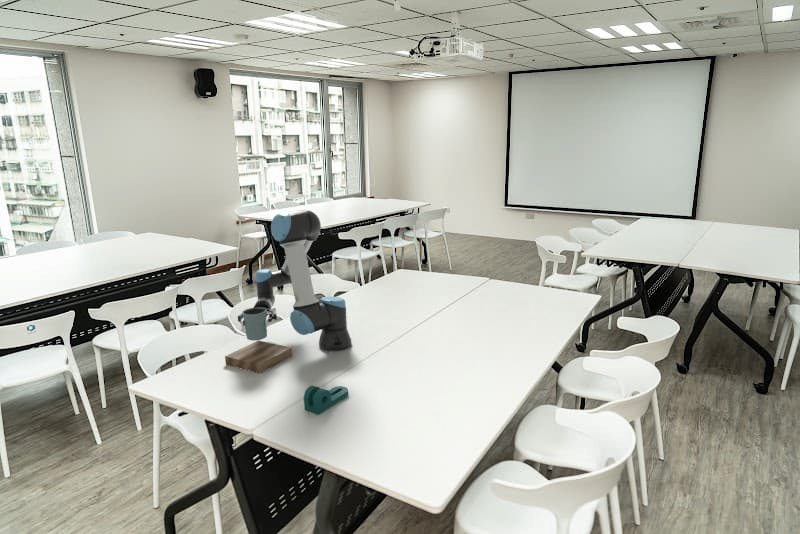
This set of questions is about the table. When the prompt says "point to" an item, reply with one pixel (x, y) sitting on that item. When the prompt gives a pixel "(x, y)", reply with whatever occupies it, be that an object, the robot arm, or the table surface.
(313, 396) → the bracket
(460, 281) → the table surface
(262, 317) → the blue green cup
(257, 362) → the walnut riser
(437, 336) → the table surface
